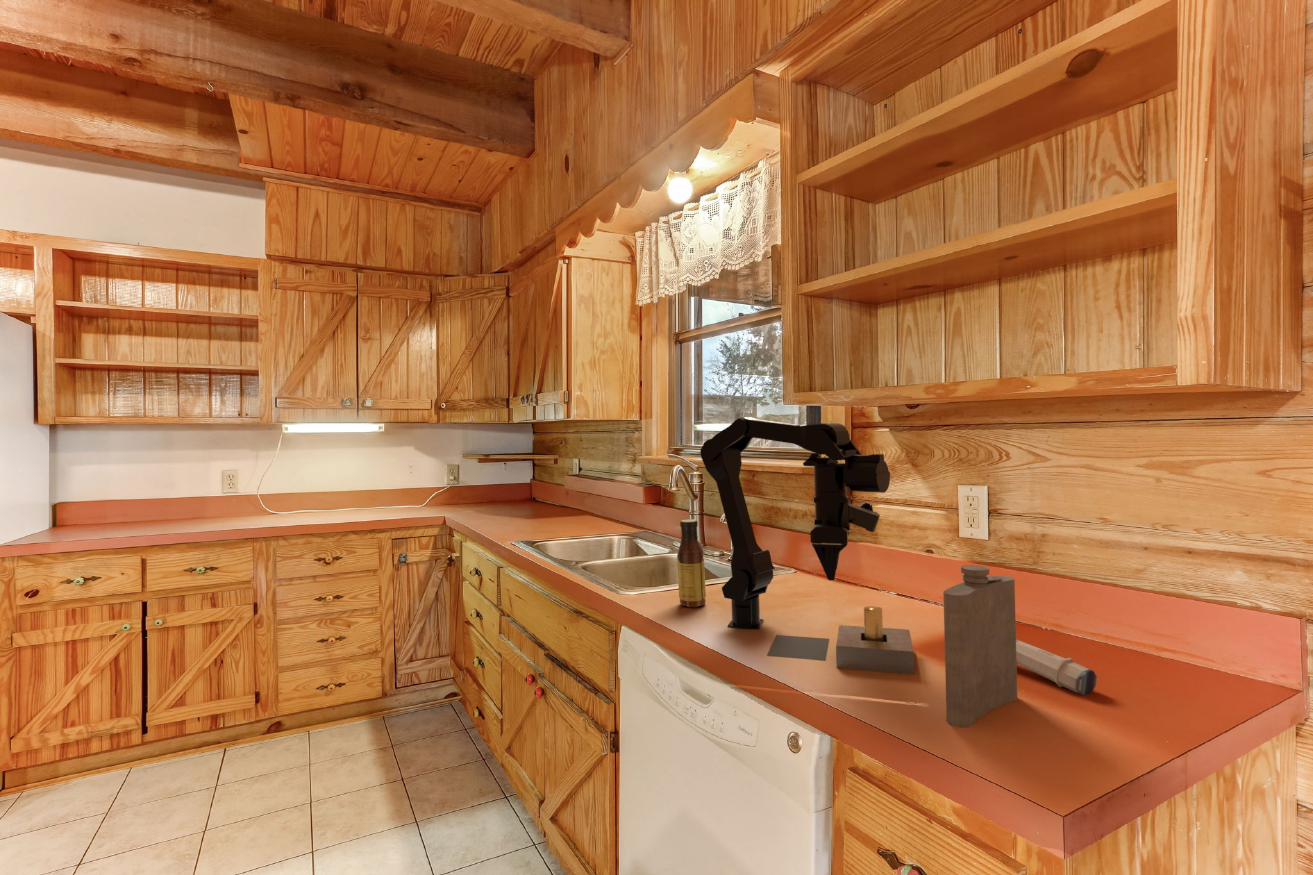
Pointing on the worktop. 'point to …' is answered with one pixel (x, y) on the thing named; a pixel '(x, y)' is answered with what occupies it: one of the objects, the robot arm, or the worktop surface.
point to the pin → (873, 624)
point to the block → (875, 650)
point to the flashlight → (1056, 668)
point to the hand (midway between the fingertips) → (832, 574)
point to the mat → (799, 647)
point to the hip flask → (979, 645)
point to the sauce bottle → (691, 566)
